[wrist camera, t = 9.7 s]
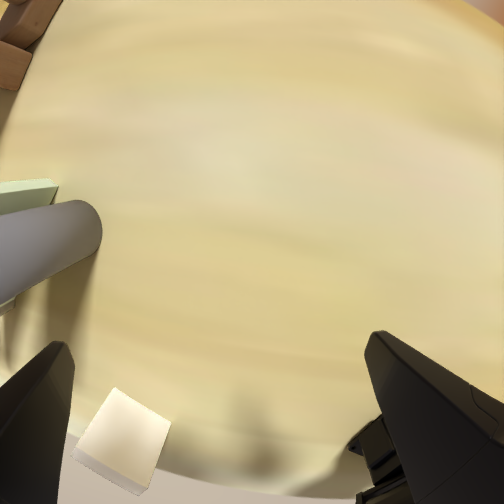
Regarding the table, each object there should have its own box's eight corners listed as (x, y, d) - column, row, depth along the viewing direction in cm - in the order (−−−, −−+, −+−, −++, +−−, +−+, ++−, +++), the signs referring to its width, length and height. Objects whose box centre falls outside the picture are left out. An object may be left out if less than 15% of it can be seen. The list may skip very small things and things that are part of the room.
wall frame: (171, 422, 25) (147, 488, 17) (162, 432, 26) (138, 496, 18) (-30, 258, 23) (-85, 280, 15) (-33, 273, 23) (-85, 297, 15)
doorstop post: (105, 204, 21) (-35, 242, 8) (100, 263, 22) (-21, 343, 9) (58, 195, 21) (-79, 224, 8) (54, 251, 22) (-69, 311, 9)
